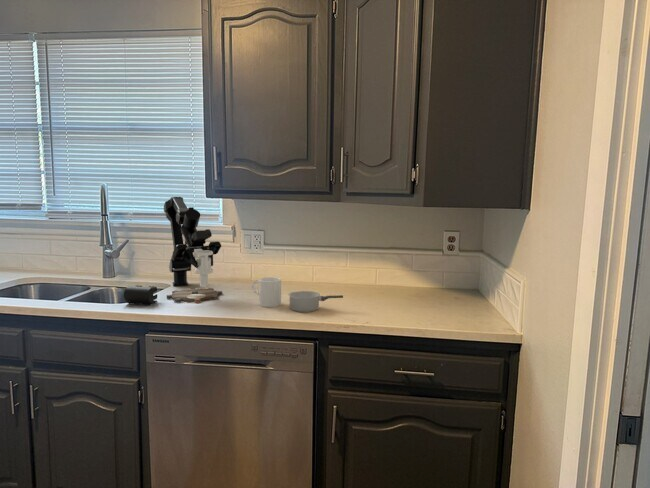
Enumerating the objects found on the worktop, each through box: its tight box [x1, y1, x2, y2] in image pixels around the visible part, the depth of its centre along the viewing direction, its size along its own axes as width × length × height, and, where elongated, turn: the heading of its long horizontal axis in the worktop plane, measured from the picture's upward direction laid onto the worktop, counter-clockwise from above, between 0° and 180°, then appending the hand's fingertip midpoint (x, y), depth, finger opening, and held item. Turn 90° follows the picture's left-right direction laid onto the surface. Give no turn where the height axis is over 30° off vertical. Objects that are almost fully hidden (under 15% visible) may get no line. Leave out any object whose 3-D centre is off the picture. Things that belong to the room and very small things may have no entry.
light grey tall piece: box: [193, 249, 214, 288], centre depth 172 cm, size 7×7×15 cm
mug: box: [250, 276, 282, 308], centre depth 167 cm, size 8×12×10 cm, turn 73°
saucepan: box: [288, 290, 344, 313], centre depth 161 cm, size 12×20×6 cm, turn 85°
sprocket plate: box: [166, 287, 223, 304], centre depth 178 cm, size 22×22×2 cm
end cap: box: [123, 285, 158, 306], centre depth 165 cm, size 10×7×7 cm
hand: (205, 266), depth 171 cm, fingers closed on light grey tall piece, 6 cm apart
